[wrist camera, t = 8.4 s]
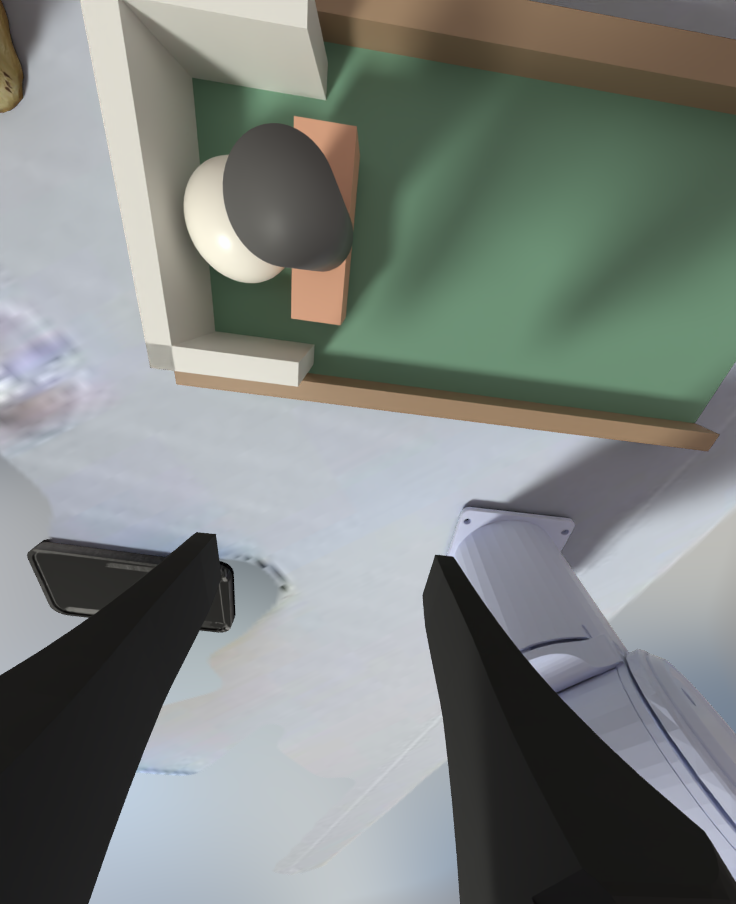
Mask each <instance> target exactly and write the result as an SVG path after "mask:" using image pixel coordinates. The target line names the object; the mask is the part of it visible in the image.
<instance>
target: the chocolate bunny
mask: <svg viewBox="0 0 736 904" xmlns="http://www.w3.org/2000/svg"><path fill="white" fill-rule="evenodd" d="M22 81H23V72H22V68H21V64H20V61H19V59H18V57H17V54H16V52H15V50H14V47H13V44H12V40H11V36H10V29H9V22H8V18H7V15H6V12H5V9H4V6H3V4H2V1H1V0H0V113H4V112H7V111H10V110H12V109H13V108H14V107H15V106H17V104H18V103H19V102H20V101H21V100H22V98H23V89H22Z"/></svg>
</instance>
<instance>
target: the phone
mask: <svg viewBox="0 0 736 904" xmlns="http://www.w3.org/2000/svg"><path fill="white" fill-rule="evenodd" d="M27 556H28V560H29V562H30V564H31V566H32V568H33V571H34V573H35V575H36V577H37V579H38V582H39V584H40V586H41V588H42V590H43V592H44V595H45V596H46V599H47V601H48V603H49V605H50V607H51V608H52V609H54V610H55V611H57V612H58V613H61V614H65V615H71V616H79V617H88V618H89V617H91V616H92V615H94V614H95V613H96V612H98V611H99V610H100V609H102V608H103V607H104V606H106V605H107V604H108V603H110V602H111V601H112V600H114V599H115V598H116V597H118V596H119V595H120V594H122V593H123V592H124V591H126V590H127V589H128V588H129V587H131V586H132V585H133V584H134V583H136V582H137V581H138V580H139V579H141V578H142V577H143V576H144V575H146V574H147V573H148V572H149V571H151V570H152V569H153V568H154V567H155V566H157V565H158V564H159V563H160V562H161V561H163V560H164V559H165V558H166V557H160V556H152V555H144V554H136V553H129V552H121V551H113V550H106V549H98V548H90V547H82V546H75V545H67V544H59V543H52V542H51V540H50V539H46V540H43V541H42V542H41V543H39V544H38V545H37V546H35V547H34V548H33V549H32V550H30V551H29V552H28V554H27ZM219 562H220V570H221V577H222V578H221V581H220V584H219V586H218V589H217V592H216V595H215V597H214V600H213V603H212V605H211V608H210V610H209V612H208V614H207V616H206V618H205V620H204V622H203V624H202V626H201V628H200V630H202V631H211V632H226V631H228V630H229V629H230V628H231V625H232V623H233V620H234V618H235V615H236V614H235V591H234V571H233V569H232V568H231V566H230V565H228V564H227V563H225V562H222V561H219Z"/></svg>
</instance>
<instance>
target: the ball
mask: <svg viewBox="0 0 736 904" xmlns="http://www.w3.org/2000/svg"><path fill="white" fill-rule="evenodd" d="M228 156H229V155H220V156H216V157H213V158H210V159H208V160H207V161H205V162H203V163H202V164H201V165H200V166H199V167H197V169H196V170H195V171H194V172H193V174H192V175H191V177H190V179H189V181H188V184H187V187H186V190H185V195H184V216H185V222H186V226H187V229H188V232H189V235H190V237H191V239H192V241H193V243H194V245H195V247H196V248H197V250H198V251H199V253H200V254H201V256H202V257H203V258H204V259H205V260H206V261H207V262H208V263H209V264H210V265H211V266H212V267H213V268H214V269H215V270H217V271H218V272H219V273H221V274H223V275H224V276H226V277H228V278H230V279H233V280H236V281H239V282H244V283H260V282H263V281H267V280H269V279H271V278H273V277H275V276H276V275H278V274H279V273H280V272H281V271H282V270H283V269H284V268H285V267H279V266H275V265H272V264H269V263H267V262H265V261H263V260H261V259H259V258H258V257H256V256H255V255H254V254H253V253H251V252H250V251H249V250H248V249H247V248H246V247H245V246H244V244H243V243H242V242H241V241H240V239H239V238H238V236H237V235H236V233H235V231H234V230H233V228H232V226H231V223H230V221H229V218H228V215H227V212H226V209H225V204H224V198H223V174H224V169H225V164H226V161H227V158H228Z"/></svg>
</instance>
